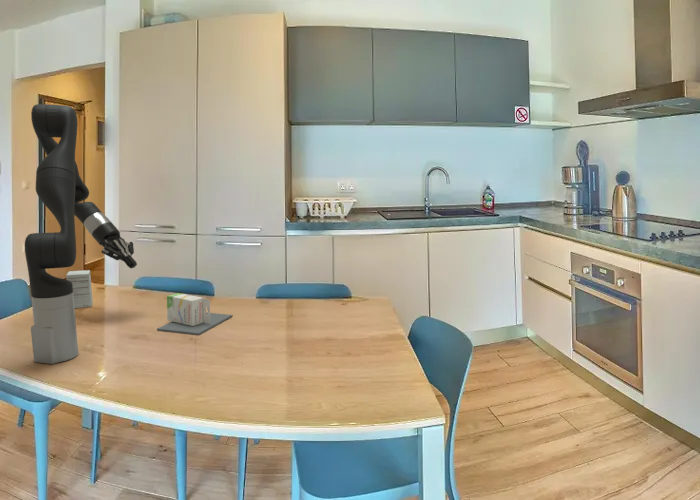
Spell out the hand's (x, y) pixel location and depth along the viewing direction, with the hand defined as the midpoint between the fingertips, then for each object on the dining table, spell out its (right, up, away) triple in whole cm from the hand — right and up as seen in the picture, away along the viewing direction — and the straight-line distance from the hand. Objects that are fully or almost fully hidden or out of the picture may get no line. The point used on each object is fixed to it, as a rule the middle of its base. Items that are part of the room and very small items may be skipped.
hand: (134, 266), depth 157 cm
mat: (+22, -19, -4) cm, 29 cm away
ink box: (+14, -13, -2) cm, 19 cm away
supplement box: (-27, -15, +16) cm, 35 cm away
